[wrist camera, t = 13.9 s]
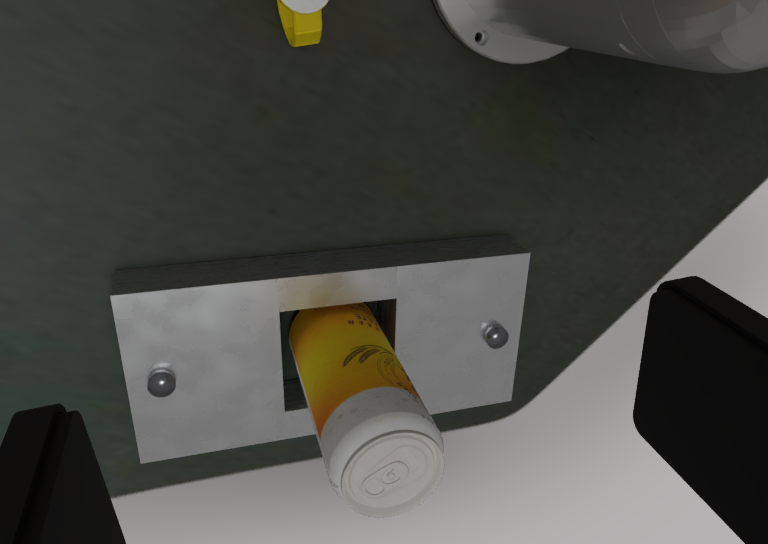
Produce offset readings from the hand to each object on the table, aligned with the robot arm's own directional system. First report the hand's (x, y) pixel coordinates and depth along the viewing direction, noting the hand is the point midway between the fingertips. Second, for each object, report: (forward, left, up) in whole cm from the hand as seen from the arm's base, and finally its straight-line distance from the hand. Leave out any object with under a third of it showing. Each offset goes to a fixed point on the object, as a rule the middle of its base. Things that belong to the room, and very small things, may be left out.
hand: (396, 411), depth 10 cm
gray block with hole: (-5, +16, -30) cm, 34 cm away
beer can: (-5, +16, -30) cm, 34 cm away
